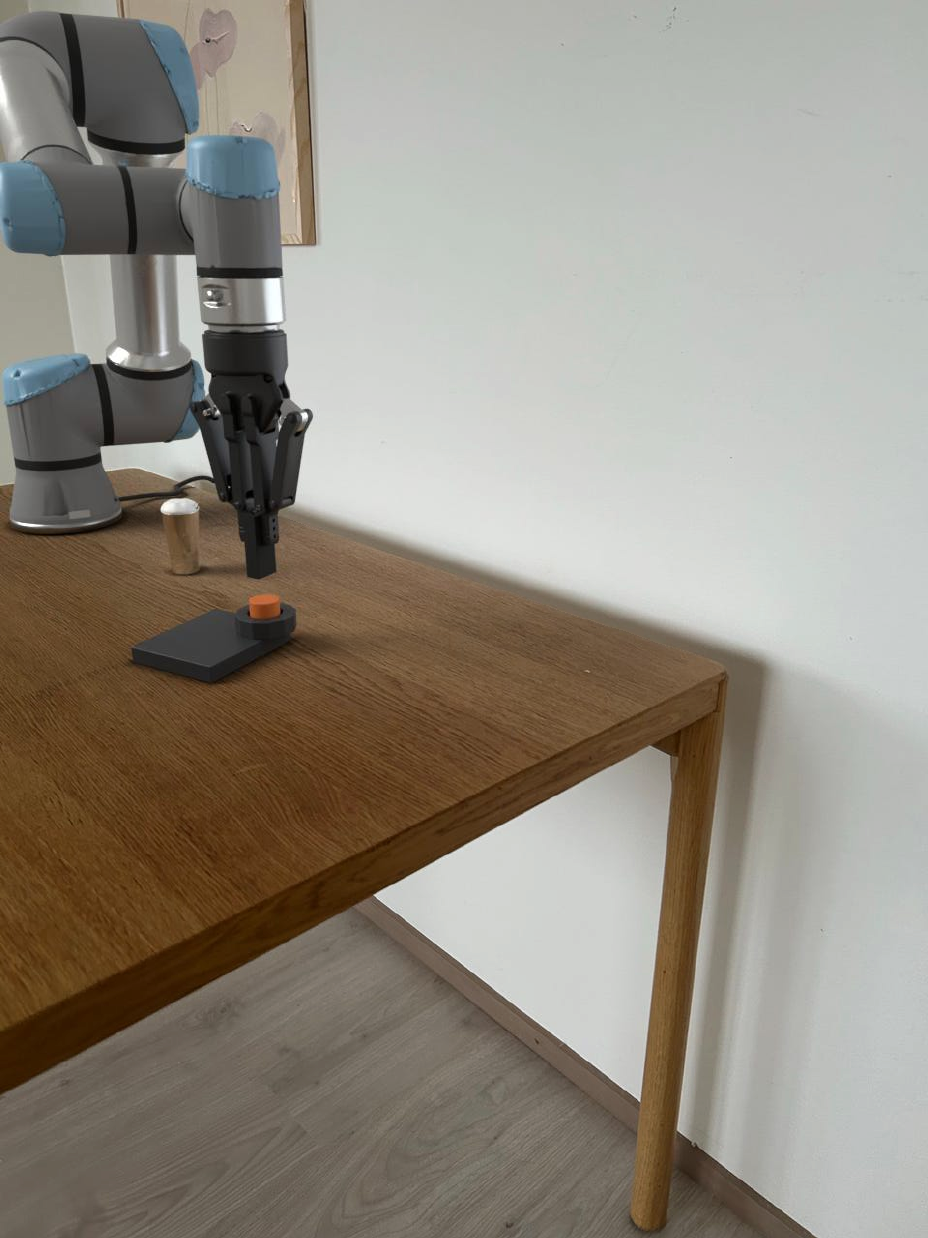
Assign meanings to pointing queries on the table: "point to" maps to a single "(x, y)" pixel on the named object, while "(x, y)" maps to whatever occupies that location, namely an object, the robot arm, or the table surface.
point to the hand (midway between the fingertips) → (261, 574)
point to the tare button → (264, 606)
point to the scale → (215, 643)
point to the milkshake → (182, 534)
